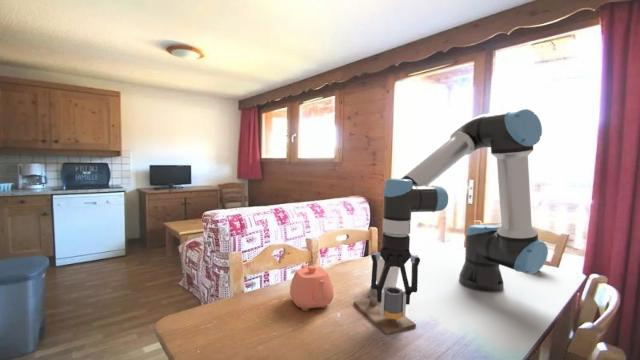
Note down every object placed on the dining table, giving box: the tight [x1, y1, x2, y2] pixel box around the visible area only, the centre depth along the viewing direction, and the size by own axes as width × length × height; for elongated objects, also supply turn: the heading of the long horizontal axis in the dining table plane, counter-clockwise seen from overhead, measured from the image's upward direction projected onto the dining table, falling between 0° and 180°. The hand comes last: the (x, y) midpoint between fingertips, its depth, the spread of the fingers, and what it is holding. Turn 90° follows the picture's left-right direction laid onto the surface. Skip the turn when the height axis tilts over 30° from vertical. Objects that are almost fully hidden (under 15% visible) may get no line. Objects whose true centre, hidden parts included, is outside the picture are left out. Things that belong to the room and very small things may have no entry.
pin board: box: [352, 285, 417, 335], centre depth 90 cm, size 18×10×7 cm, turn 23°
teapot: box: [289, 264, 334, 312], centre depth 95 cm, size 13×20×12 cm, turn 21°
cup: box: [376, 256, 400, 289], centre depth 109 cm, size 9×9×12 cm
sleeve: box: [383, 286, 403, 319], centre depth 85 cm, size 5×5×7 cm
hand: (392, 313), depth 85 cm, fingers closed on sleeve, 5 cm apart
